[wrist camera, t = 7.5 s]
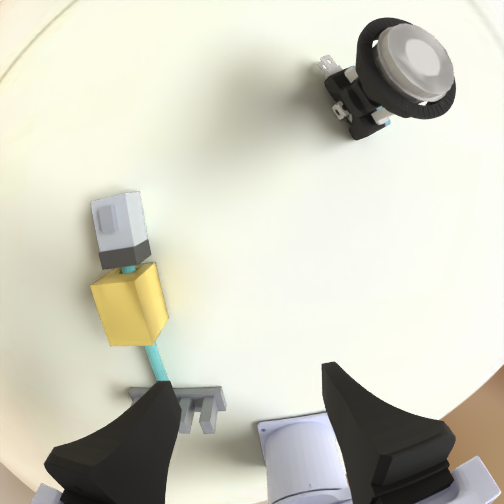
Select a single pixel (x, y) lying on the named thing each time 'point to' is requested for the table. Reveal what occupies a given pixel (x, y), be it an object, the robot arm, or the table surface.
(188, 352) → the table surface
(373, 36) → the push button
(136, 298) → the marker sleeve
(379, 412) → the robot arm
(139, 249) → the band
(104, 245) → the connector
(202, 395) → the cable comb
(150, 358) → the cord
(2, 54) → the table surface
